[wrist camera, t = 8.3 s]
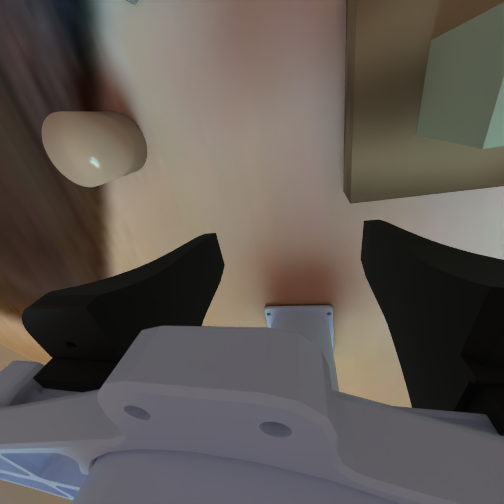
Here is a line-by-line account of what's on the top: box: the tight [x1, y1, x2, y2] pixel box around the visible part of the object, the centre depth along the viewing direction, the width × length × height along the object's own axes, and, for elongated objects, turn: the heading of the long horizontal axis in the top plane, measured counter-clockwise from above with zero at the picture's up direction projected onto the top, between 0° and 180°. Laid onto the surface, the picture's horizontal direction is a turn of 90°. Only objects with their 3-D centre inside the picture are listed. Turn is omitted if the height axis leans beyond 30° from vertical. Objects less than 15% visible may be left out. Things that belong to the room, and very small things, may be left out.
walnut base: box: [344, 0, 504, 203], centre depth 14 cm, size 12×12×3 cm
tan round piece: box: [42, 111, 147, 187], centre depth 18 cm, size 5×5×5 cm
